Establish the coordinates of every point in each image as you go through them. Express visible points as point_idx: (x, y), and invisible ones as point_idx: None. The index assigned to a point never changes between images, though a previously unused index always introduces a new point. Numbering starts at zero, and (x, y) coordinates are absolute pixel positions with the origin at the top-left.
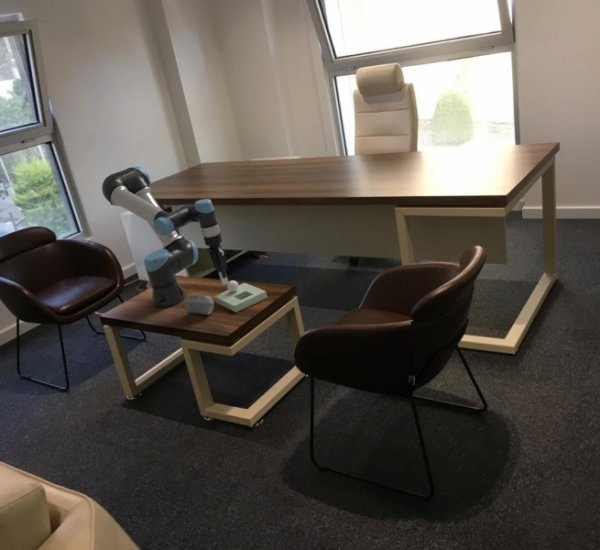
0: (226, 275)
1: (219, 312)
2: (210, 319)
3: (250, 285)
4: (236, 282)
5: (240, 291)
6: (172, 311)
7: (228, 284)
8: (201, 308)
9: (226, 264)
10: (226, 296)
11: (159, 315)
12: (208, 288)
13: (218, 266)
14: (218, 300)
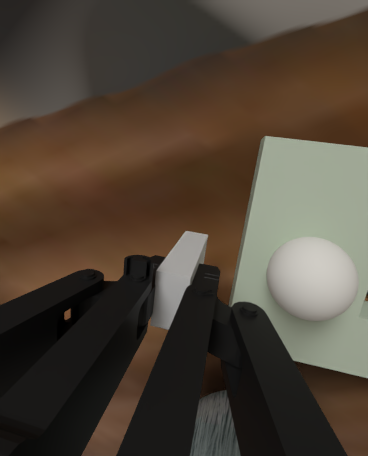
0: (199, 255)
1: (339, 389)
2: (350, 444)
3: (356, 151)
4: (348, 266)
5: (351, 248)
6: (108, 423)
7: (311, 320)
8: None
9: (292, 361)
10: (306, 326)
11: (92, 453)
12: (43, 225)
13: (135, 344)
14: None
